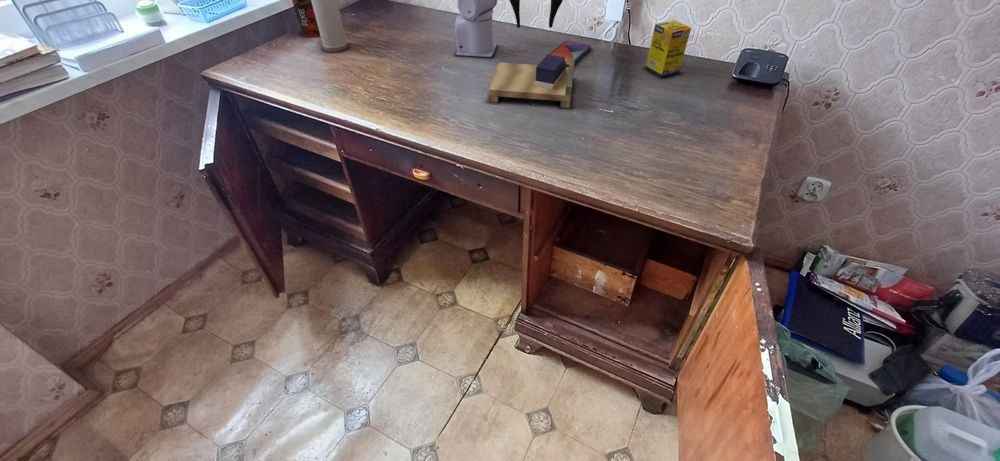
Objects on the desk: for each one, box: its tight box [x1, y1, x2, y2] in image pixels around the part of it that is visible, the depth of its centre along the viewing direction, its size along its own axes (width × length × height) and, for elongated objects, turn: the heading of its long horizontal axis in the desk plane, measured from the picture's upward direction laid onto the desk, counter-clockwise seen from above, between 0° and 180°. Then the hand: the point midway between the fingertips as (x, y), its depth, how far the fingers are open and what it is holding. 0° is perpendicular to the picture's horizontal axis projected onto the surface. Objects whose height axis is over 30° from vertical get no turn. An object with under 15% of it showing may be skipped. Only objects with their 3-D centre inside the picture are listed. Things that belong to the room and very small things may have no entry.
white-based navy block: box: [534, 53, 566, 89], centre depth 104 cm, size 9×4×4 cm, turn 156°
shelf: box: [488, 59, 576, 109], centre depth 106 cm, size 18×14×5 cm
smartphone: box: [549, 40, 591, 67], centre depth 121 cm, size 7×15×1 cm, turn 151°
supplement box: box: [645, 19, 692, 78], centre depth 111 cm, size 6×6×11 cm
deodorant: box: [291, 0, 321, 38], centre depth 129 cm, size 6×6×15 cm
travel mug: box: [311, 0, 349, 53], centre depth 119 cm, size 6×7×20 cm
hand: (534, 26), depth 112 cm, fingers open, 7 cm apart
